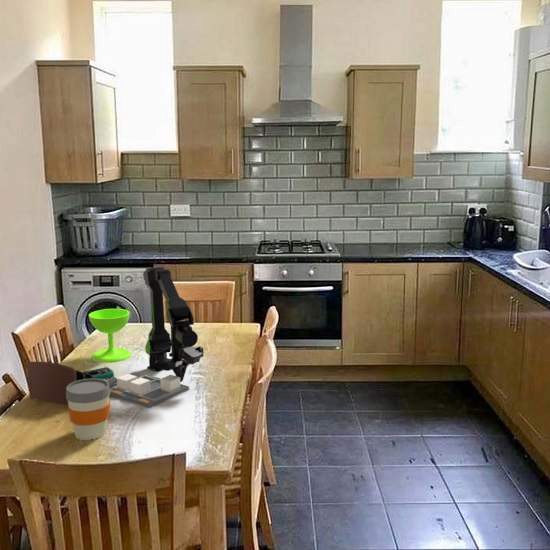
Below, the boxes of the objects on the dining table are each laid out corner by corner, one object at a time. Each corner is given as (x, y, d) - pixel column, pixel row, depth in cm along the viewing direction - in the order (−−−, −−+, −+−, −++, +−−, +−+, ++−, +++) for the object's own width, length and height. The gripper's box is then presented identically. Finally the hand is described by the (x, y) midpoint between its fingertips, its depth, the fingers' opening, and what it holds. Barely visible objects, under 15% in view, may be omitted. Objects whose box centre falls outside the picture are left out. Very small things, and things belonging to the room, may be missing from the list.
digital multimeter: (115, 378, 228) (115, 371, 228) (75, 386, 220) (74, 379, 220) (109, 372, 234) (109, 365, 234) (69, 380, 226) (69, 373, 226)
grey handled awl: (116, 384, 222) (109, 382, 223) (117, 378, 222) (111, 375, 222) (96, 399, 209) (89, 396, 209) (97, 392, 208) (91, 390, 209)
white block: (128, 384, 218) (127, 373, 217) (137, 387, 215) (137, 376, 214) (117, 388, 214) (117, 378, 213) (126, 391, 211) (126, 380, 210)
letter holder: (76, 407, 202) (73, 367, 199) (29, 399, 209) (25, 359, 206) (95, 396, 211) (93, 357, 208) (49, 388, 218) (46, 350, 215)
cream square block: (171, 385, 217) (170, 374, 216) (180, 388, 214) (180, 377, 214) (160, 389, 213) (160, 378, 212) (170, 392, 210) (170, 381, 210)
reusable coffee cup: (88, 446, 175) (85, 397, 172) (59, 436, 181) (56, 388, 178) (121, 430, 185) (118, 383, 182) (92, 420, 192) (89, 375, 189)
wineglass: (139, 355, 253) (137, 313, 249) (106, 365, 241) (103, 321, 237) (116, 347, 263) (114, 306, 260) (83, 356, 251) (80, 314, 248)
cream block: (141, 388, 214) (140, 377, 213) (150, 391, 212) (150, 380, 211) (130, 392, 210) (129, 381, 209) (139, 395, 208) (139, 384, 207)
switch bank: (148, 378, 228) (148, 373, 227) (189, 389, 216) (188, 384, 216) (108, 394, 212) (108, 389, 212) (149, 407, 201) (149, 402, 201)
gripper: (177, 350, 202) (179, 394, 205) (214, 336, 217) (215, 378, 221) (153, 344, 209) (155, 387, 212) (190, 331, 224) (191, 372, 227)
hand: (180, 381), depth 217 cm, fingers closed
